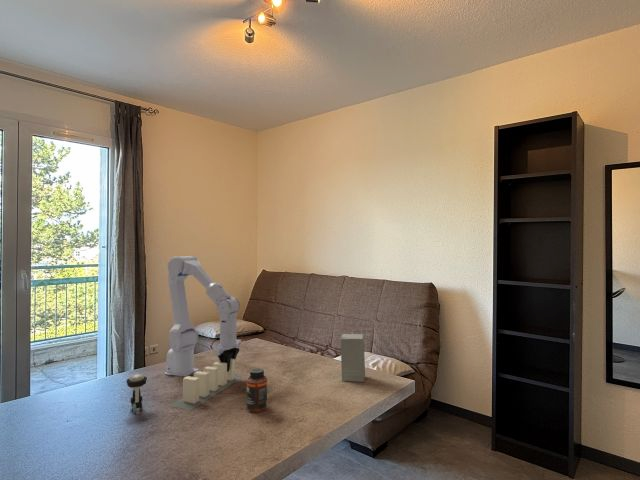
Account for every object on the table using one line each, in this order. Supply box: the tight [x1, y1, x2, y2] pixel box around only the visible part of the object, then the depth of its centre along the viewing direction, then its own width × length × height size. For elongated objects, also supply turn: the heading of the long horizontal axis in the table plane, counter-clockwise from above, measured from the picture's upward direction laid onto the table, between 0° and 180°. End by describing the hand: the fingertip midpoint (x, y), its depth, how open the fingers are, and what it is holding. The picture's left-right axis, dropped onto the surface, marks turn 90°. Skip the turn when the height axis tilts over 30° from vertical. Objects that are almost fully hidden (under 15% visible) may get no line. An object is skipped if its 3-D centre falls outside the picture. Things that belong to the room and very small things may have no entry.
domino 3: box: [203, 365, 219, 391], centre depth 121 cm, size 4×2×7 cm, turn 71°
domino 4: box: [212, 361, 227, 386], centre depth 125 cm, size 4×2×7 cm, turn 71°
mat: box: [169, 373, 245, 411], centre depth 120 cm, size 8×30×1 cm, turn 161°
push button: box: [126, 373, 148, 415], centre depth 105 cm, size 7×5×10 cm
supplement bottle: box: [246, 367, 268, 413], centre depth 107 cm, size 6×6×11 cm
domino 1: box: [182, 375, 199, 403], centre depth 111 cm, size 4×2×7 cm, turn 71°
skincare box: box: [340, 333, 366, 383], centre depth 132 cm, size 8×7×16 cm
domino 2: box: [193, 370, 209, 397], centre depth 116 cm, size 4×2×7 cm, turn 71°
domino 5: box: [227, 359, 236, 381], centre depth 130 cm, size 4×2×7 cm, turn 71°
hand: (228, 370), depth 130 cm, fingers closed on domino 5, 2 cm apart
